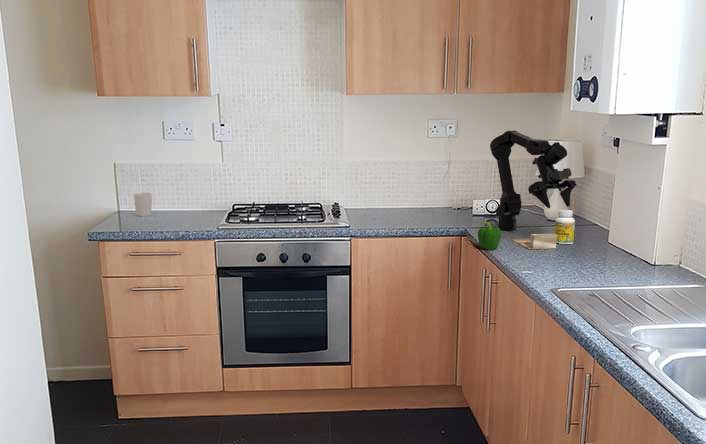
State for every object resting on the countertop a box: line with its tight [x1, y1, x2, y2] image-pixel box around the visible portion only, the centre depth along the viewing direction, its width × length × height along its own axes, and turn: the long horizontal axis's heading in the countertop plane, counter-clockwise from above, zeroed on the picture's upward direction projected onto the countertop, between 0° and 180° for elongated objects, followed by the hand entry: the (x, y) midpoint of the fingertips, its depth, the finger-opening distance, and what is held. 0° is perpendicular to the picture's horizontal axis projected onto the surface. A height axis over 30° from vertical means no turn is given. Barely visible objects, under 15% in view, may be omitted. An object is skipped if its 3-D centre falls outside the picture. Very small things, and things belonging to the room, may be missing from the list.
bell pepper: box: [477, 221, 502, 251], centre depth 227 cm, size 8×8×10 cm
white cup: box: [133, 192, 153, 217], centre depth 286 cm, size 8×8×10 cm
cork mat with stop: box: [511, 233, 557, 250], centre depth 234 cm, size 16×12×5 cm
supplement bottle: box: [553, 209, 576, 245], centre depth 236 cm, size 7×7×13 cm
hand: (559, 207), depth 230 cm, fingers open, 9 cm apart
